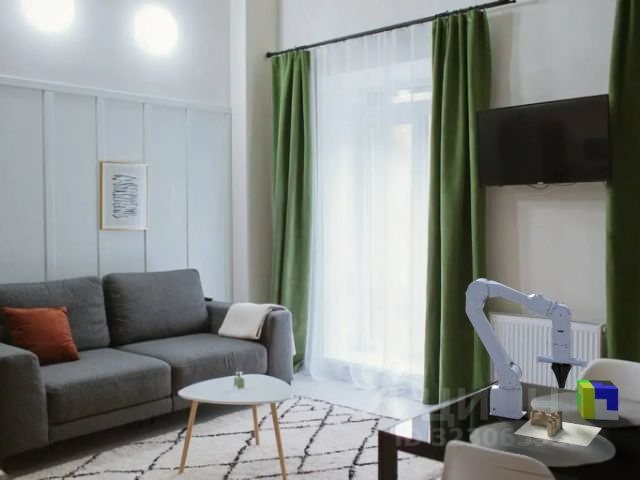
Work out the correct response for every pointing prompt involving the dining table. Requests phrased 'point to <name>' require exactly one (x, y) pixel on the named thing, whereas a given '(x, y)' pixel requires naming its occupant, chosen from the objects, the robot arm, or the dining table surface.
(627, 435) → the dining table surface
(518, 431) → the mat
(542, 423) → the fence fixed panel
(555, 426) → the fence panel
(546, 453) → the dining table surface
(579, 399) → the puzzle toy
